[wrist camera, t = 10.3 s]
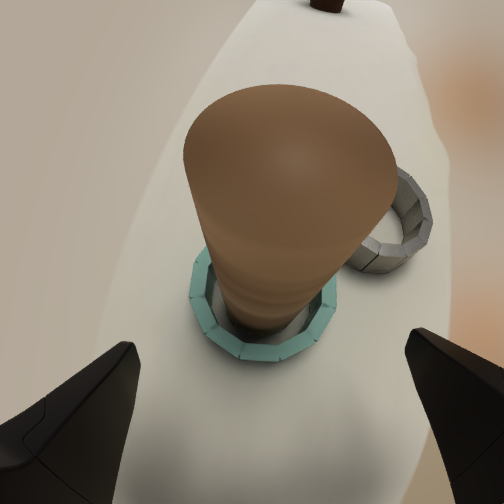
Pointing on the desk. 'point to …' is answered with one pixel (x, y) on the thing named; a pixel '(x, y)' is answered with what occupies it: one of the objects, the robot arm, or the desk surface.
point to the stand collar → (414, 228)
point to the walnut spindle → (284, 195)
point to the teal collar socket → (307, 336)
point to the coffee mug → (327, 5)
